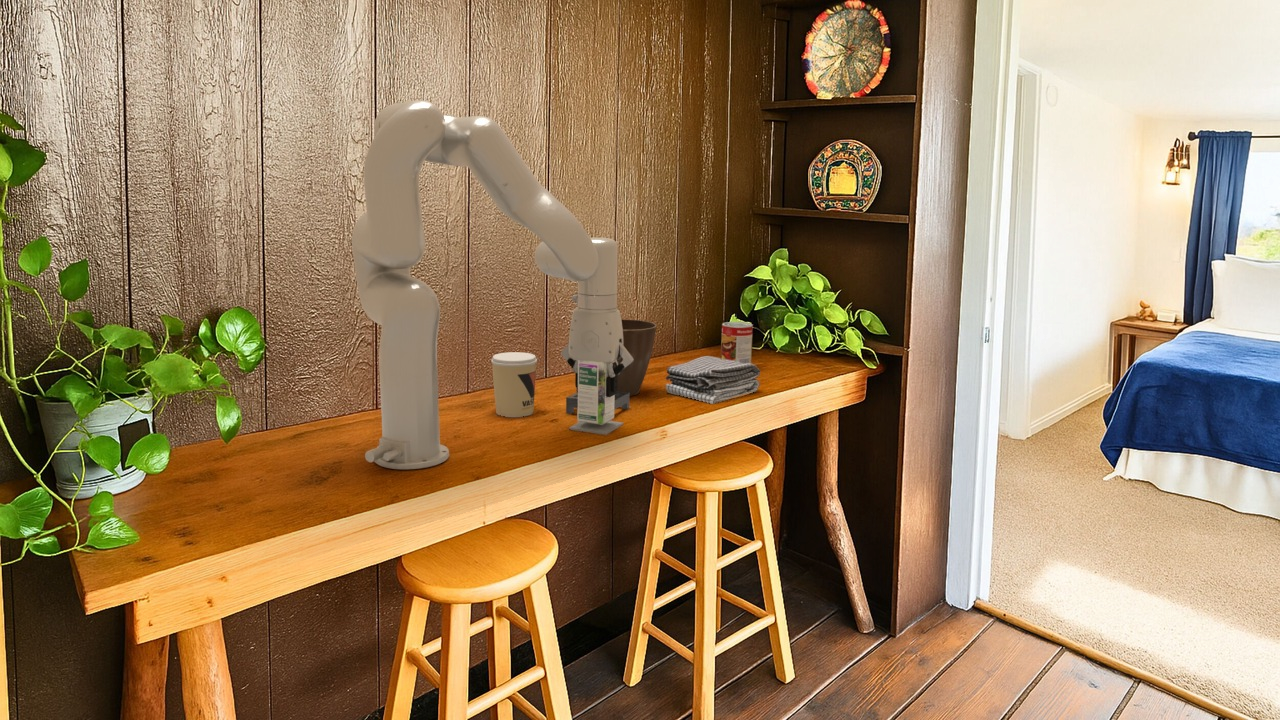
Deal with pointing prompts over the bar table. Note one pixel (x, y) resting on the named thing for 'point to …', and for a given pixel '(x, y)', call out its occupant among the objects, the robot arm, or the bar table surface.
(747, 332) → the canned food
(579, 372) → the syrup box
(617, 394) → the collar stand
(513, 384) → the coffee cup
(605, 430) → the slate mat
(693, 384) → the towel
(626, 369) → the plant pot
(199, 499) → the bar table surface
